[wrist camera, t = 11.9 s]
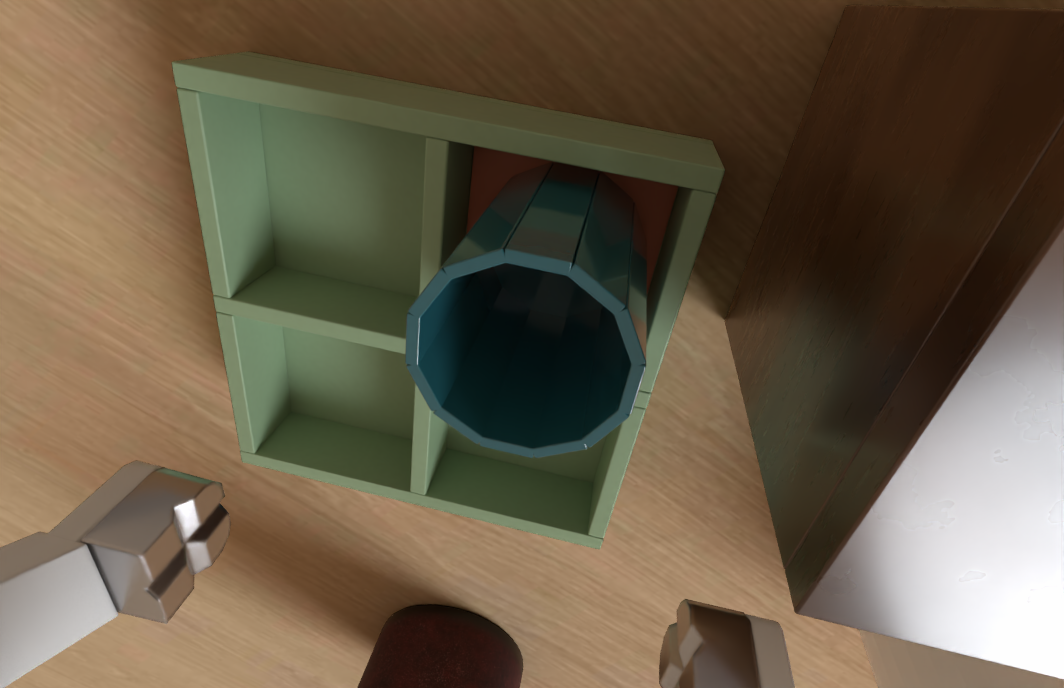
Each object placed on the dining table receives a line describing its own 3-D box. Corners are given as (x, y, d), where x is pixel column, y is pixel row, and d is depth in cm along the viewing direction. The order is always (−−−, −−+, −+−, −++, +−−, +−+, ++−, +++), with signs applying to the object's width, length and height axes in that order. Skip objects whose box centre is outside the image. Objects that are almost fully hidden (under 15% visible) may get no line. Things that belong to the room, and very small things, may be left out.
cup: (492, 148, 22) (408, 228, 14) (663, 181, 21) (672, 283, 14) (476, 299, 25) (402, 428, 18) (623, 331, 25) (611, 477, 17)
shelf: (845, 4, 18) (1205, 11, 6) (1239, 72, 17) (2475, 221, 6) (724, 321, 25) (793, 614, 13) (1007, 382, 24) (1359, 754, 12)
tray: (247, 51, 22) (170, 60, 19) (712, 140, 21) (726, 169, 17) (287, 410, 32) (241, 462, 29) (605, 485, 31) (600, 550, 27)
